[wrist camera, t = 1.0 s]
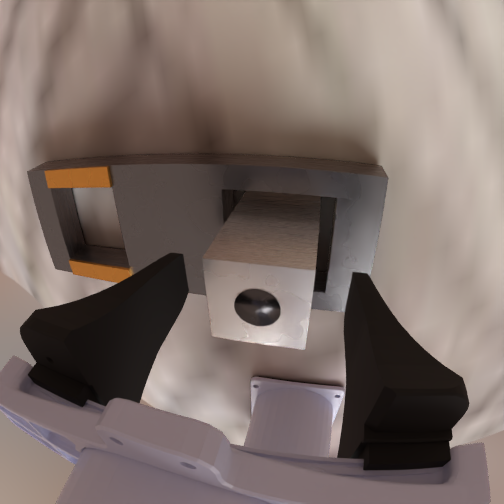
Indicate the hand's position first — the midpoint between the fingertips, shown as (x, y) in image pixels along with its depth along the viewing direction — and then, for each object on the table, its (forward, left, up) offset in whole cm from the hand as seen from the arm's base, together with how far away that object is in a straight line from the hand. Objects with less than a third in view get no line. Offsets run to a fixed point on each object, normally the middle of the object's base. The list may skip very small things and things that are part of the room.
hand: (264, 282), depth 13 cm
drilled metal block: (0, 0, -5) cm, 5 cm away
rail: (0, +6, -5) cm, 8 cm away
